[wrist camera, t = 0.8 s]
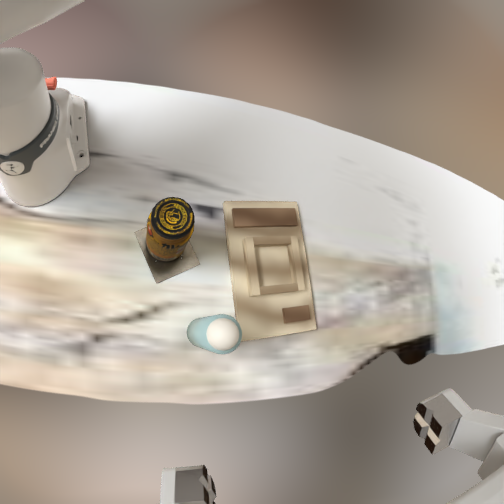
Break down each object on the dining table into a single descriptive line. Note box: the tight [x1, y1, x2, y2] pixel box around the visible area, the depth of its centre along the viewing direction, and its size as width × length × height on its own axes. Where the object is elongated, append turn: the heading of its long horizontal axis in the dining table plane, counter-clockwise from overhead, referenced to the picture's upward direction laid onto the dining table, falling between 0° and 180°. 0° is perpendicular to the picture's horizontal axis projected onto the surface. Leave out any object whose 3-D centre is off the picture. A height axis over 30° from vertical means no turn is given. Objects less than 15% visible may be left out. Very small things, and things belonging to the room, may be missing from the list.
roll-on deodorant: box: [187, 314, 242, 354], centre depth 39 cm, size 4×4×15 cm
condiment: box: [135, 197, 200, 283], centre depth 42 cm, size 7×8×12 cm
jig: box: [223, 201, 316, 342], centre depth 50 cm, size 22×13×3 cm, turn 7°
